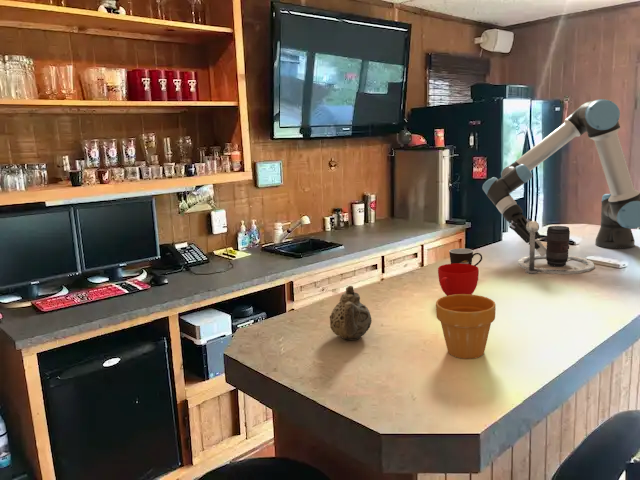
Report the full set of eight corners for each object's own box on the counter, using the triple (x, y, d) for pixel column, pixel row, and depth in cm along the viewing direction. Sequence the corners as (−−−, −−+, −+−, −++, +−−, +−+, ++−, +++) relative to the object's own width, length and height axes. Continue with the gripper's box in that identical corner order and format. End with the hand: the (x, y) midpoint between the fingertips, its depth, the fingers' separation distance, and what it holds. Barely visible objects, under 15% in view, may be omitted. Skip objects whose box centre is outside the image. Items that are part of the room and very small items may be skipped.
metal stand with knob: (533, 274, 196) (534, 222, 192) (522, 272, 199) (523, 221, 195) (550, 268, 202) (552, 218, 198) (540, 266, 206) (541, 217, 202)
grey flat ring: (573, 255, 220) (573, 252, 220) (607, 271, 194) (608, 269, 194) (508, 258, 221) (508, 256, 221) (534, 275, 194) (534, 273, 194)
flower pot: (460, 368, 123) (460, 316, 121) (425, 348, 136) (424, 300, 134) (507, 355, 129) (508, 305, 126) (469, 337, 142) (469, 290, 139)
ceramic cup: (424, 302, 172) (424, 272, 170) (450, 289, 184) (450, 261, 182) (460, 309, 163) (460, 278, 161) (485, 295, 175) (485, 266, 173)
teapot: (330, 325, 156) (328, 276, 153) (369, 323, 156) (367, 274, 153) (330, 355, 135) (326, 299, 132) (375, 353, 135) (372, 297, 132)
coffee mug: (447, 279, 196) (447, 253, 194) (451, 273, 204) (451, 248, 202) (480, 280, 192) (480, 254, 190) (482, 274, 200) (482, 248, 198)
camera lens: (563, 261, 211) (565, 224, 207) (570, 267, 203) (573, 229, 200) (542, 262, 211) (544, 225, 208) (549, 267, 204) (551, 229, 200)
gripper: (513, 213, 227) (548, 256, 216) (494, 217, 219) (529, 262, 209) (524, 201, 221) (560, 246, 211) (505, 205, 214) (541, 251, 204)
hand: (545, 254), depth 210 cm, fingers closed
